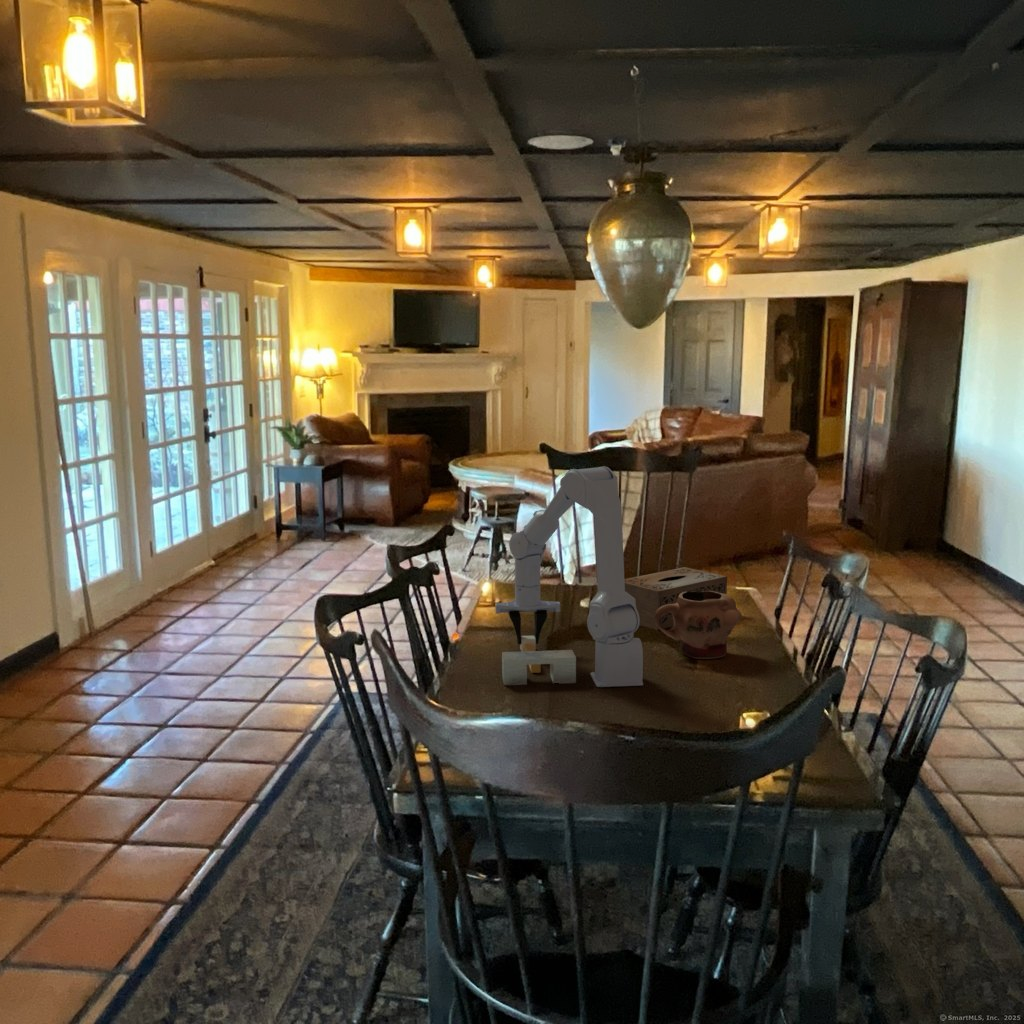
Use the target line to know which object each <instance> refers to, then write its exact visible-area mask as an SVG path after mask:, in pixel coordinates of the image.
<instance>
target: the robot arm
mask: <svg viewBox="0 0 1024 1024" xmlns="http://www.w3.org/2000/svg"><path fill="white" fill-rule="evenodd" d="M559 482H560V483H559V484H560V485H559V486H560V487H559V488H558V490H557V491H556V493H555V495H553V498H552V499H551V501H550V502H549V504H548V505H547V507H546V508H545V509H539V510H536V511H534V512H533V513H532V518H531V519H530V520H529V522H527V524H525V525H524V527H523V529H522V530H520V531H519V532H518V531H517V532H513V533H512V534H511V537H510V538H509V544H508V547H509V551H510V553H511V555H512V556H513V557H514V601H506V602H498V603H497V602H495V604H494V606H495V607H494V611H495V614H496V615H497V614H505V613H507V614H508V616H509V618H510V621H511V622H512V624H513V628H514V631H515V635H516V642H517V645H520V644H521V636H522V631H521V629H522V628H521V625H522V617H521V613H533V615H534V633H533V636H535V639H536V645H538V644H539V642H540V641H539V639H540V635H541V632H542V630H543V626H544V624H545V622H546V621H547V618H548V612H555V613H560V612H561V603H560V601H549V600H548V601H547V600H541V564H542V562H543V560H544V559H543V557H544V554H545V552H546V550H547V544H546V543H547V542H548V541H549V540H550V538H551V537H552V536H553V534H555V532H557V530H558V528H559V526H560V521H559V519H560V518H561V517H562V516H564V514H566V512H567V511H568V510H569V509H570V508H571V507H572V506H573V505H574V504H575V503H576V504H577V505H579V506H581V507H582V508H585V509H586V510H588V511H589V512H590V513H591V514H592V515H593V516H594V537H595V541H594V542H595V558H596V559H595V560H596V561H595V562H596V582H597V583H596V585H597V586H596V587H597V592H596V594H595V595H594V596H593V597H592V600H591V601H590V602H589V613H588V615H587V620H586V626H587V629H588V633H589V634H590V635H591V637H592V639H593V640H594V641H595V645H594V646H595V649H594V650H595V653H594V654H595V655H594V656H595V657H594V659H595V661H594V666H595V667H594V671H592V672H590V677H591V679H592V681H593V682H594V684H595V687H597V688H611V687H614V688H615V687H638V686H639V687H641V686H644V681H643V679H644V678H643V673H644V672H643V669H644V668H643V666H644V665H643V662H644V652H643V649H644V648H643V644H642V641H641V638H639V637H634V634H635V632H636V631H637V630H638V629H639V627H640V625H639V623H640V618H639V614H638V611H637V609H636V602H635V598H634V597H632V596H631V595H629V594H628V593H627V592H625V581H624V579H625V562H624V559H625V558H624V540H623V539H624V538H623V517H622V516H623V515H622V514H623V513H622V503H621V499H620V496H619V483H618V482H619V479H618V475H616V474H615V472H613V470H611V468H609V467H607V466H605V465H603V466H602V465H601V466H598V467H591V468H589V467H588V468H580V469H576V468H571V469H568V470H567V471H566V472H565V474H564V476H563V477H562V478H561V479H560V481H559Z"/></svg>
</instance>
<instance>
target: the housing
mask: <svg viewBox="0 0 1024 1024" xmlns="http://www.w3.org/2000/svg"><path fill="white" fill-rule="evenodd" d="M531 664H541V665H549V676H550V679H551V681H552V684H553V685H555V684H554V683H559V684H576V683H577V656H576V655H575V653H574V651H573V649H561V650H559V649H554V650H536V651H521V650H520V651H502V652H501V673H502V674H501V678H502V681H503V685H504V686H523V685H528V666H529V665H531Z"/></svg>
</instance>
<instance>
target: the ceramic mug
mask: <svg viewBox="0 0 1024 1024" xmlns="http://www.w3.org/2000/svg"><path fill="white" fill-rule="evenodd" d="M666 613H671V614H673V620H674V626H672V627H670V629H667V628H664V627H663V626H662V625H661V624H660V620H661V617H662V616H663V615H664V614H666ZM742 618H743V617H742V612H741V611H740V609H738V608H737V604H736V601H735V599H734V598H733V597H732V596H730V595H729V594H723V593H718V592H713V591H687V592H683V593H681V594H679V596H678V600H677V603H675V604H667V605H663V606H661V607H660V608H658V610H657V611H656V613H655V615H654V620H655V624H656V626H657V627H658V628H659V629H660V630H659V631H661V632H662V633H664V634H665V635H666V636H667V637H669V638H672V639H673V640H674V641H676V642H678V641H679V643H680V649H681V652H682V653H683V655H685V656H686V657H689V658H691V659H692V658H693V659H716V658H723V657H725V656H726V655H727V653H728V652H727V651H728V650H727V648H728V647H727V643H728V642H727V640H728V637H729V636H730V634H731V633H732V631H733V630H734V629H735V628H736V627H737V625H738V624H739V623H740V621H741V620H742Z"/></svg>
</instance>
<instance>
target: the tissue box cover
mask: <svg viewBox="0 0 1024 1024" xmlns="http://www.w3.org/2000/svg"><path fill="white" fill-rule="evenodd" d="M624 581H625V592H627V593H628V594H629V595H631V596H632V597H634V598H635V602H636V609H637V611H638V614H639V618H640V623H639V626H640V627H641V626H642V627H645V628H648V629H652V630H655V631H661V630H660V629H659V628H658V627H657V626H656V624H655V620H654V615H655V613H656V611H657V610H658V608H660V607H661V606H663V605H667V604H675V603H677V600H678V596H679V594H681V593H683V592H687V591H713V592H718V593H723V594H727V593H728V592H727V591H728V590H727V589H728V576H727V575H723V574H719V573H718V574H717V573H713V572H709V571H704V570H699V569H695V568H692V567H686V566H684V567H678V568H674V569H669V570H663V571H658V572H653V573H649V574H644V575H639V576H638V575H637V576H633V577H629V578H628V577H627V578H624ZM727 595H728V594H727ZM660 624H661V625H662V626H663V627H664V628H665V629H668V628H672V627H673V626H674V620H673V614H671V613H666V614H664V615H663V616H662V617H661V620H660Z"/></svg>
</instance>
